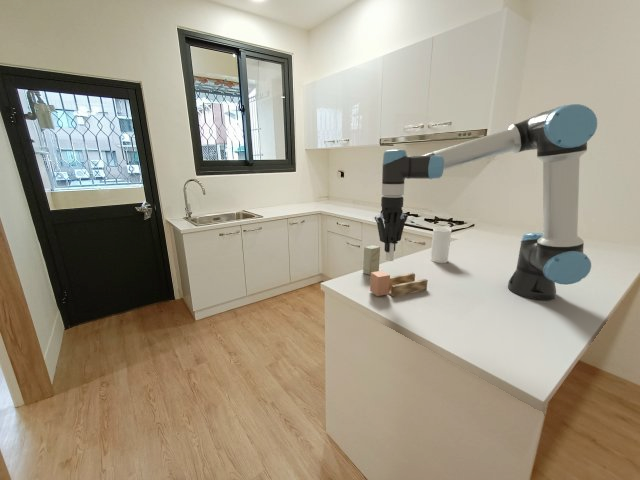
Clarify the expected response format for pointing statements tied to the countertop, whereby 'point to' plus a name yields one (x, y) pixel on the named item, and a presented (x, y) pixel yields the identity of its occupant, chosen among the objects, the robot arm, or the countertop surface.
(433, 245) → the cup
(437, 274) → the countertop surface
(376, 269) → the skincare box
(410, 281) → the chute
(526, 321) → the countertop surface
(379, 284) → the block
